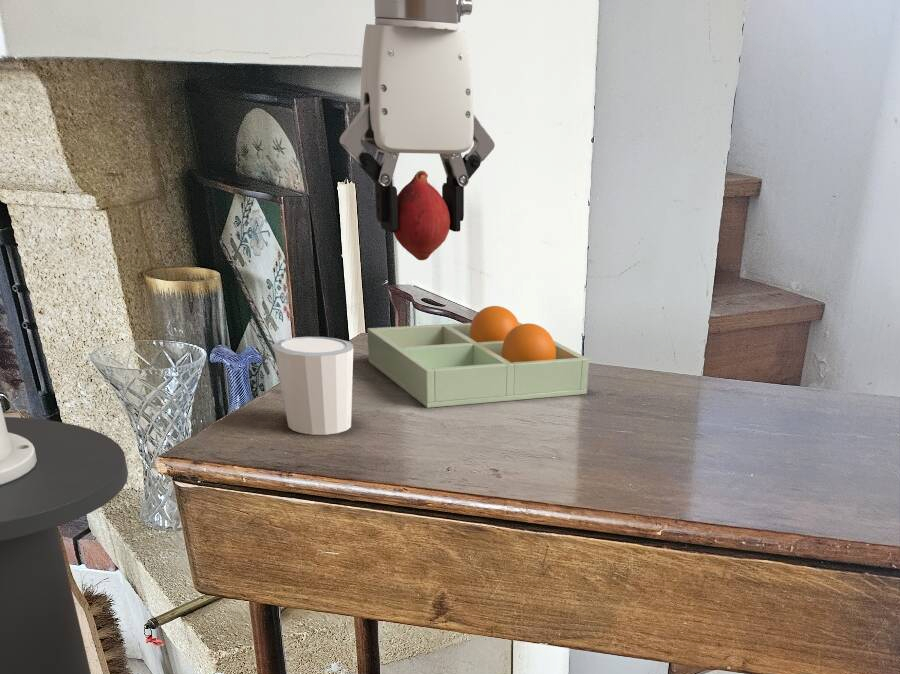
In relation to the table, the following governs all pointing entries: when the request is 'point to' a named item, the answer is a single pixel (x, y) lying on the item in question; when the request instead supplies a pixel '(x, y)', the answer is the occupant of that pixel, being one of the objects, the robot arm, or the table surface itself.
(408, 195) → the onion
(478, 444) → the table surface
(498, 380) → the tray
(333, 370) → the white cup
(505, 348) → the clementine
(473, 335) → the clementine
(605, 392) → the table surface
